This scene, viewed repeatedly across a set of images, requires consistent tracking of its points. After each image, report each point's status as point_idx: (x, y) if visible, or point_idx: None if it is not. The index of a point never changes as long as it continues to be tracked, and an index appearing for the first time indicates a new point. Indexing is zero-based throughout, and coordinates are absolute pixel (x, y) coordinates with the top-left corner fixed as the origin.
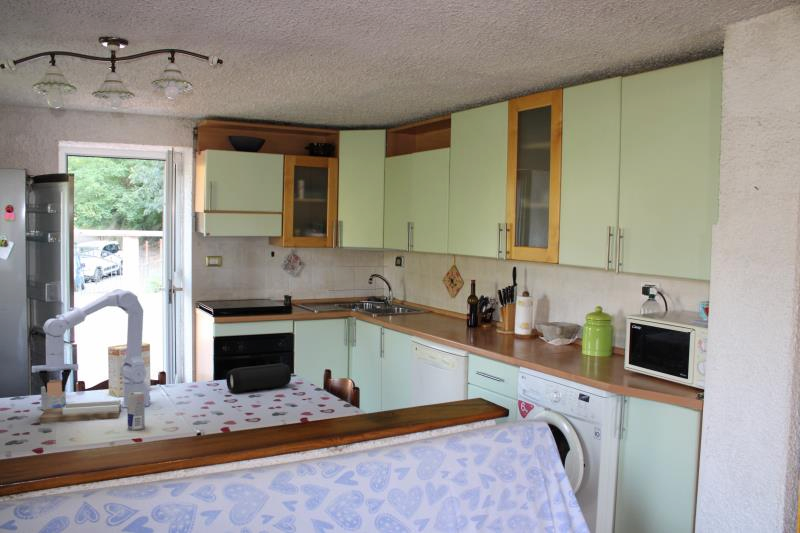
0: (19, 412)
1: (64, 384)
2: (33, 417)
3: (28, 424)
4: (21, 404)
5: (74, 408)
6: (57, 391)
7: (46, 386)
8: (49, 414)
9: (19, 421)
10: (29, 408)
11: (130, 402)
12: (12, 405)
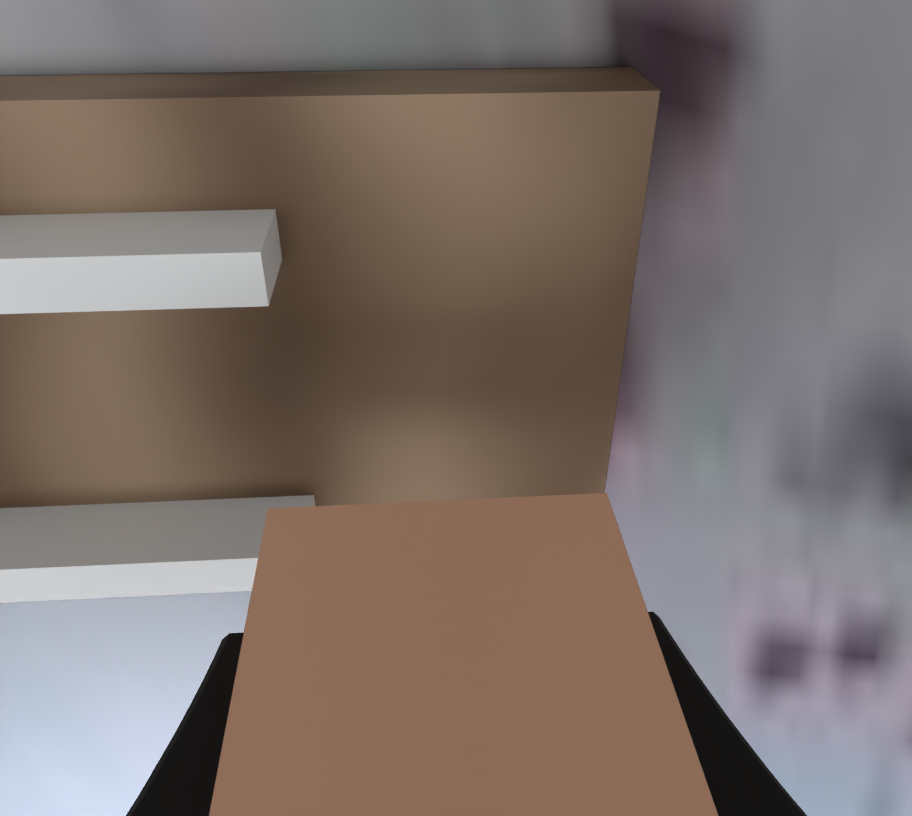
0: (855, 618)
1: (148, 813)
2: (718, 416)
3: (792, 47)
4: (815, 812)
5: (26, 257)
6: (363, 582)
7: (697, 745)
8: (505, 274)
9: (899, 262)
10: (754, 716)
11: None
12: (888, 797)
